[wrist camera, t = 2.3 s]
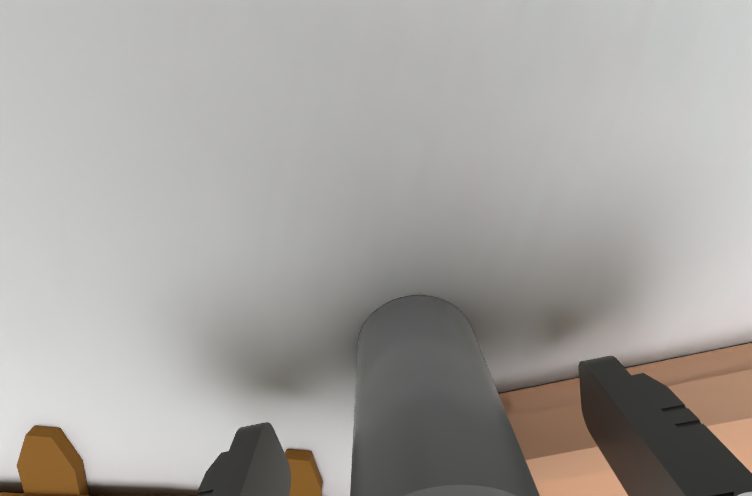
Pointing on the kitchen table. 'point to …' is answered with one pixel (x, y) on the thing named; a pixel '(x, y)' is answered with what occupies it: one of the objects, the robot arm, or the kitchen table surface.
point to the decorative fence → (67, 475)
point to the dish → (577, 447)
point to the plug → (430, 409)
